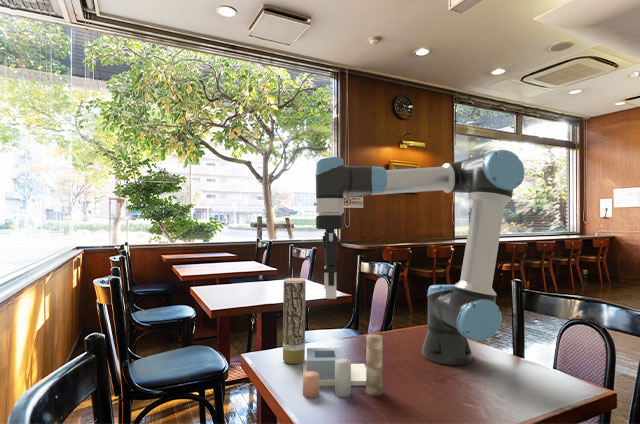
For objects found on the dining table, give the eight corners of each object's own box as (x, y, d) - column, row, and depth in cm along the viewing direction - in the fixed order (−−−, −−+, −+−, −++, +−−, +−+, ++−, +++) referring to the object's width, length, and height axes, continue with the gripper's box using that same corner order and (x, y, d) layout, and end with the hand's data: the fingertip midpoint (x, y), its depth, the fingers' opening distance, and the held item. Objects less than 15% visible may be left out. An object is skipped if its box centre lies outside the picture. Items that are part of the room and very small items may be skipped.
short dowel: (318, 391, 96) (318, 371, 96) (319, 398, 92) (319, 377, 92) (302, 391, 96) (303, 371, 96) (302, 398, 92) (303, 377, 92)
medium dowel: (349, 389, 97) (349, 358, 97) (351, 397, 93) (351, 364, 93) (334, 390, 97) (334, 358, 97) (335, 397, 93) (335, 364, 93)
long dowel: (380, 388, 98) (380, 334, 98) (383, 395, 94) (383, 338, 94) (364, 388, 98) (365, 334, 98) (367, 396, 94) (367, 338, 94)
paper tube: (301, 365, 113) (302, 281, 114) (279, 363, 114) (280, 280, 115) (307, 357, 120) (307, 278, 120) (286, 356, 121) (287, 277, 122)
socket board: (364, 367, 112) (364, 346, 112) (371, 385, 100) (371, 361, 100) (303, 368, 111) (303, 346, 111) (303, 385, 99) (303, 362, 99)
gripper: (315, 215, 115) (316, 285, 115) (316, 213, 90) (316, 303, 90) (340, 215, 115) (340, 285, 115) (347, 213, 90) (347, 303, 90)
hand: (330, 293), depth 102 cm, fingers open, 13 cm apart
